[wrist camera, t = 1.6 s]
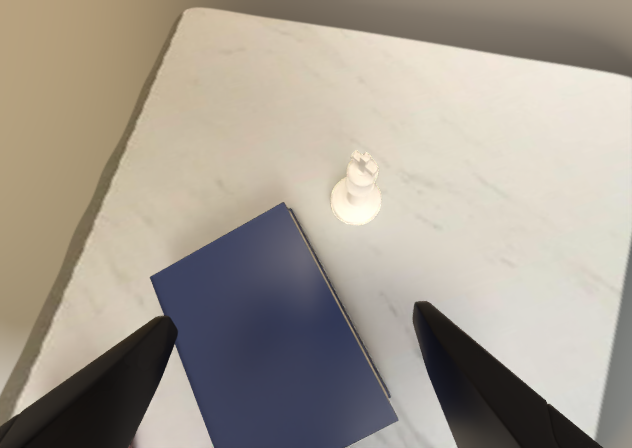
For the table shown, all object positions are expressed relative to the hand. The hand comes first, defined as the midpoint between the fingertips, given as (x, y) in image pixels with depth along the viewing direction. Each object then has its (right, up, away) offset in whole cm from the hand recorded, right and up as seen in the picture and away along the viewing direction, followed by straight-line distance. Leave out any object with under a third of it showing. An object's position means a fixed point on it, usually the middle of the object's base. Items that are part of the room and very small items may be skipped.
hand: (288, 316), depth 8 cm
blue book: (-3, -7, +13) cm, 15 cm away
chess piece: (+5, +6, +14) cm, 16 cm away
